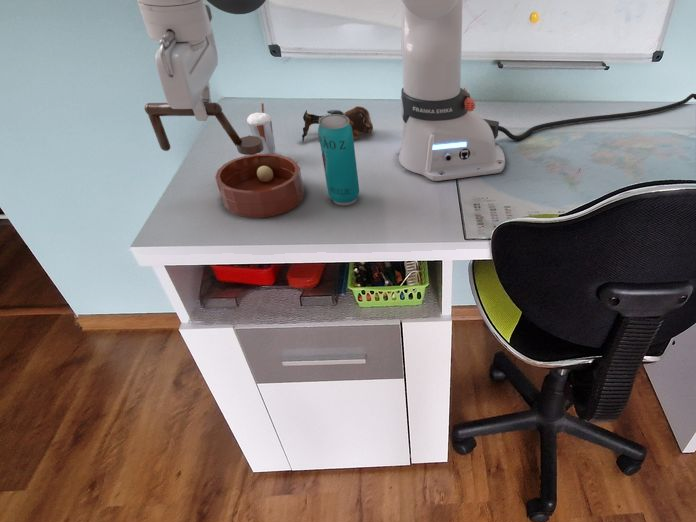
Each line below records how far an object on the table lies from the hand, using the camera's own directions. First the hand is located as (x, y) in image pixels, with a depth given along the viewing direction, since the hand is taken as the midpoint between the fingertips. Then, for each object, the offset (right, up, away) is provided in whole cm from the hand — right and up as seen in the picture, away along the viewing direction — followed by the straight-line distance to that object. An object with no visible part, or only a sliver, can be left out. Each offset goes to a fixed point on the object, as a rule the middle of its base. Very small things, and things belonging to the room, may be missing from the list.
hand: (205, 114), depth 90 cm
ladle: (-1, -4, +4) cm, 6 cm away
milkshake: (+2, +1, +23) cm, 23 cm away
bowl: (+5, -10, +12) cm, 17 cm away
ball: (+5, -5, +14) cm, 15 cm away
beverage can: (+21, -11, +12) cm, 26 cm away
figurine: (+15, +9, +31) cm, 36 cm away
